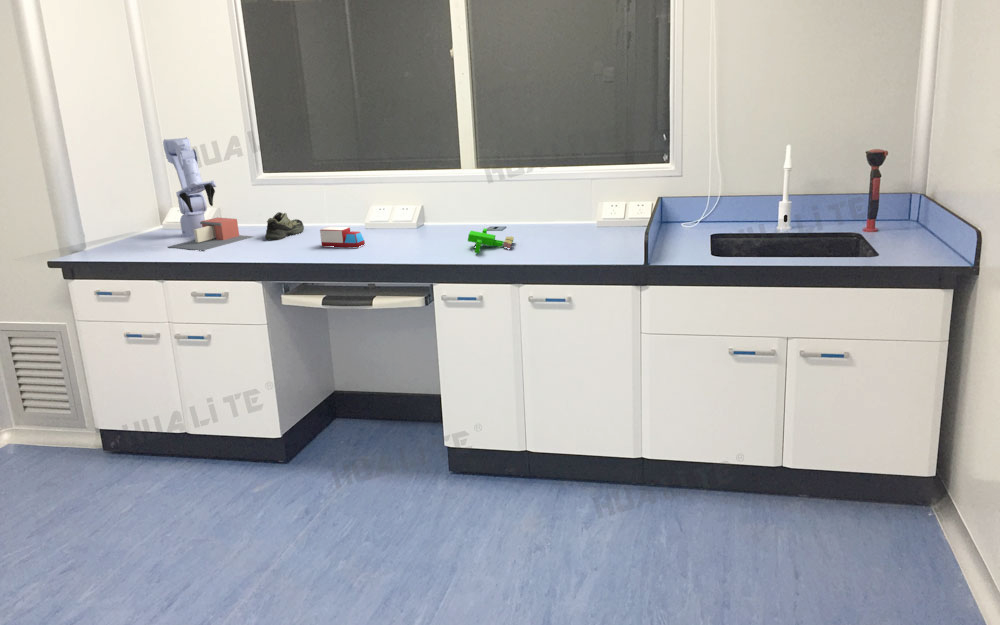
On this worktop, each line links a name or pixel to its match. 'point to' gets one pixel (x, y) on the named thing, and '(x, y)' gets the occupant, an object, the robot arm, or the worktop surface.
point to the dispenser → (223, 227)
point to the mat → (207, 243)
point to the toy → (487, 240)
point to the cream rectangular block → (205, 233)
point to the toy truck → (341, 237)
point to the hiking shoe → (282, 227)
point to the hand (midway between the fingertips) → (201, 208)
